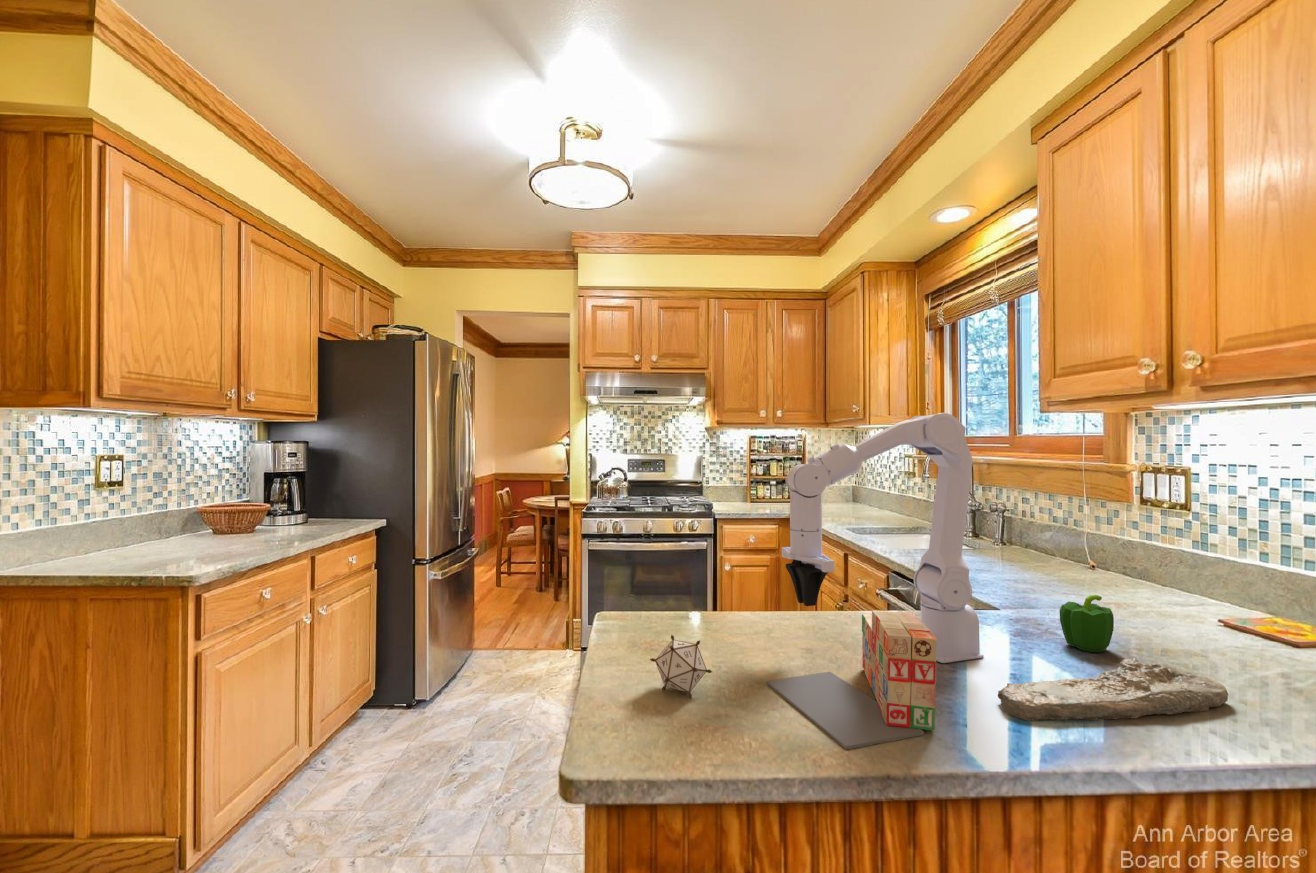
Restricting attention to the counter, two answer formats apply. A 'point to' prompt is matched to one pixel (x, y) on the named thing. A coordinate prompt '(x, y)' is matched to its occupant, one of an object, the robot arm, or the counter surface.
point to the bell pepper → (1087, 624)
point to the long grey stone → (1114, 694)
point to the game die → (681, 665)
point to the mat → (840, 710)
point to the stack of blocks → (900, 667)
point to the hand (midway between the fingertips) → (806, 603)
